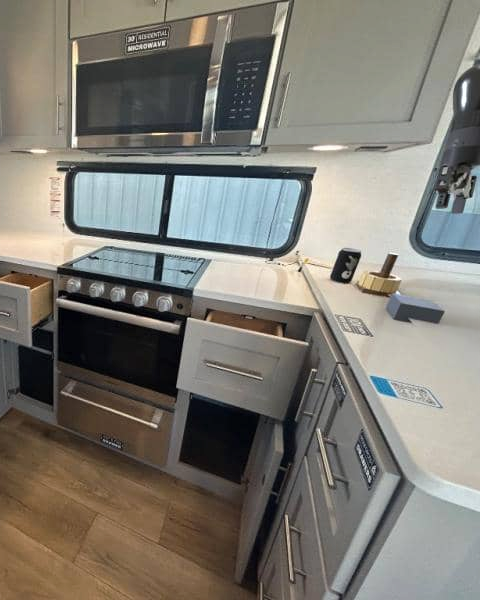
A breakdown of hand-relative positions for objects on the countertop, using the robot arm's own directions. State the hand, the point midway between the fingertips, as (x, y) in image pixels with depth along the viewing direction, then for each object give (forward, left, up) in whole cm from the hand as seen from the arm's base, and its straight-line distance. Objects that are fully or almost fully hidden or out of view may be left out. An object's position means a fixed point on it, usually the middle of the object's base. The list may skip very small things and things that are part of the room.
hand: (449, 211), depth 90 cm
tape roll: (+4, -14, -28) cm, 31 cm away
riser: (+1, +9, -29) cm, 30 cm away
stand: (+4, -14, -29) cm, 33 cm away
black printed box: (+14, -20, -29) cm, 38 cm away
